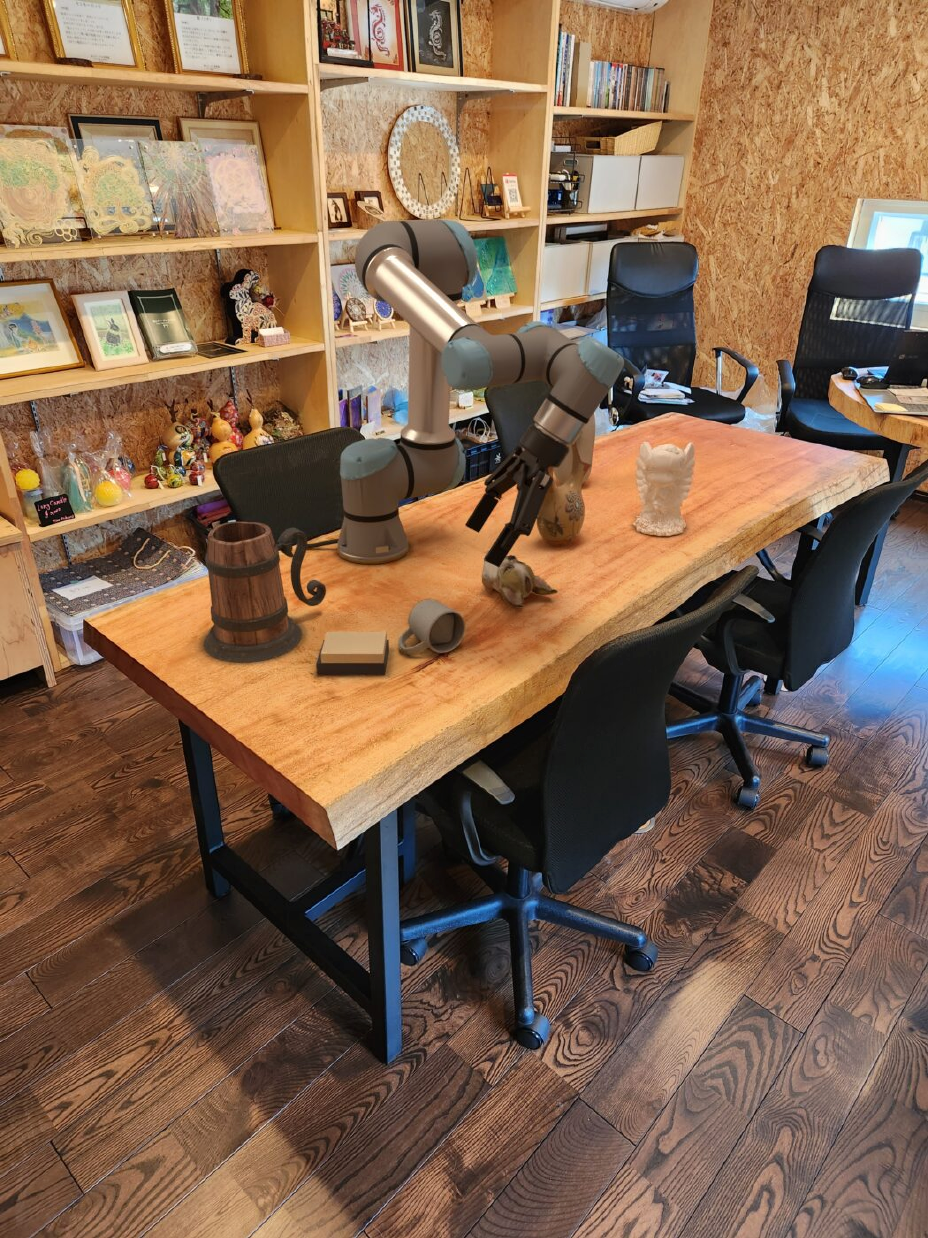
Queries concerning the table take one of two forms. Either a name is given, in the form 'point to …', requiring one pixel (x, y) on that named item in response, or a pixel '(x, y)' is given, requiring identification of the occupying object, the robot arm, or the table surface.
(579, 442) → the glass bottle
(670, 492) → the cherub figurine
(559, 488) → the ceramic vessel
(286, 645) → the tankard
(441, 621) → the ceramic mug
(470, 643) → the table surface
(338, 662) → the stone
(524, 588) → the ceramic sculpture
